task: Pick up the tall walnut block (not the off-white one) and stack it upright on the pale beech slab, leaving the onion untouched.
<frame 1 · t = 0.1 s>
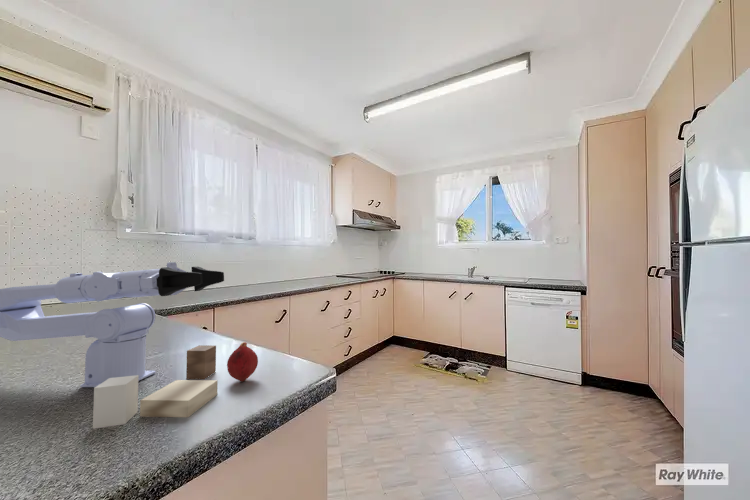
hand: (213, 277, 62), 22 cm above the table, tool horizontal, fingers open, 7 cm apart
beech slab: (181, 406, 51), on the table
offwhite block: (116, 419, 46), on the table
onion: (242, 382, 60), on the table
walnut block: (201, 375, 64), on the table
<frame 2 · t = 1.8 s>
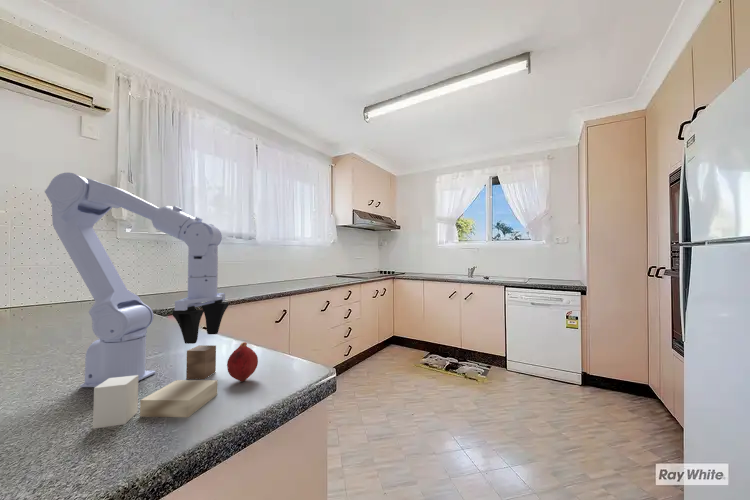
hand: (202, 338, 64), 8 cm above the table, tool pointing down, fingers open, 7 cm apart
nothing on the table moved.
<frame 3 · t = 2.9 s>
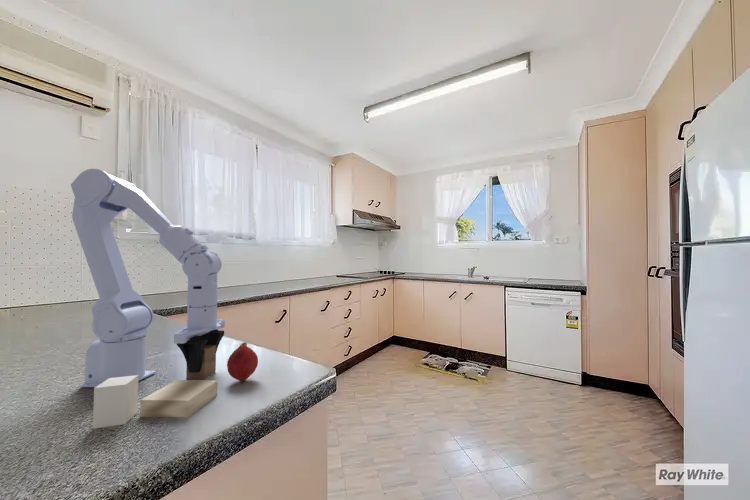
hand: (201, 367, 64), 2 cm above the table, tool pointing down, fingers closed on walnut block, 4 cm apart
walnut block: (201, 375, 64), on the table, touching gripper
everything else where it was.
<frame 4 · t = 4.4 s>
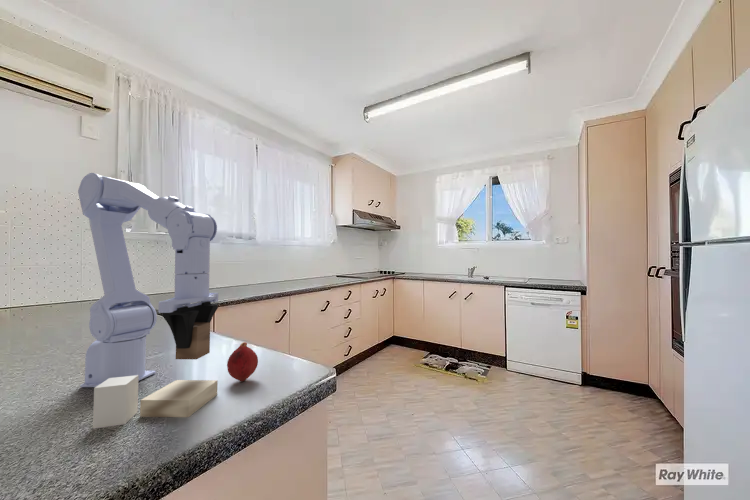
hand: (191, 344, 56), 9 cm above the table, tool pointing down, fingers closed on walnut block, 4 cm apart
walnut block: (193, 355, 56), point 7 cm above the table, touching gripper
everything else where it was.
when the fingers open (6 cm above the table, at t = 5.8 s): walnut block stays where it is, resting on beech slab.
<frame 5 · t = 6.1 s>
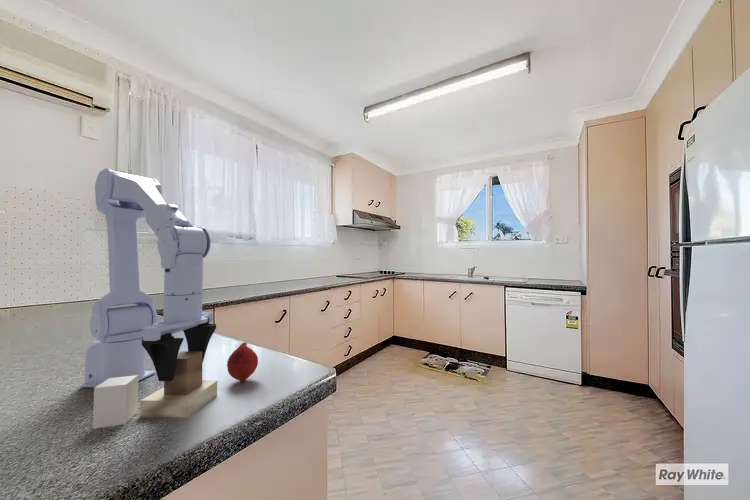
hand: (182, 371, 51), 6 cm above the table, tool pointing down, fingers open, 7 cm apart
beech slab: (181, 407, 51), on the table, touching walnut block
walnut block: (183, 389, 51), point 3 cm above the table, touching beech slab
everything else where it was.
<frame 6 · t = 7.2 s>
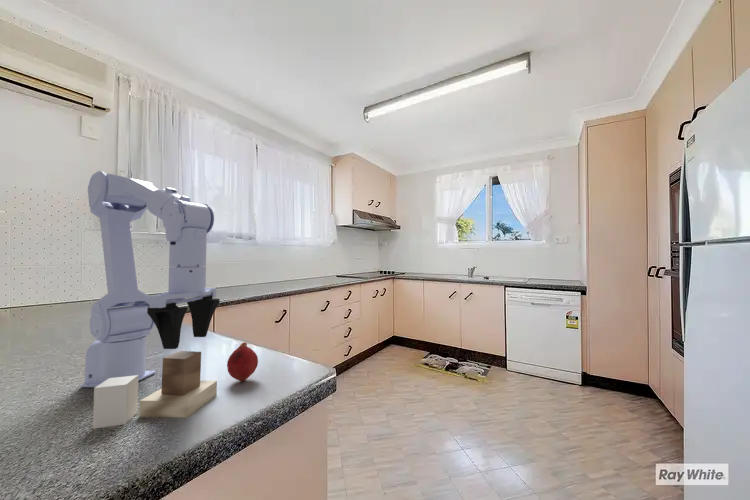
hand: (186, 342, 53), 10 cm above the table, tool pointing down, fingers open, 7 cm apart
beech slab: (180, 407, 51), on the table
walnut block: (181, 389, 51), point 3 cm above the table
everything else where it was.
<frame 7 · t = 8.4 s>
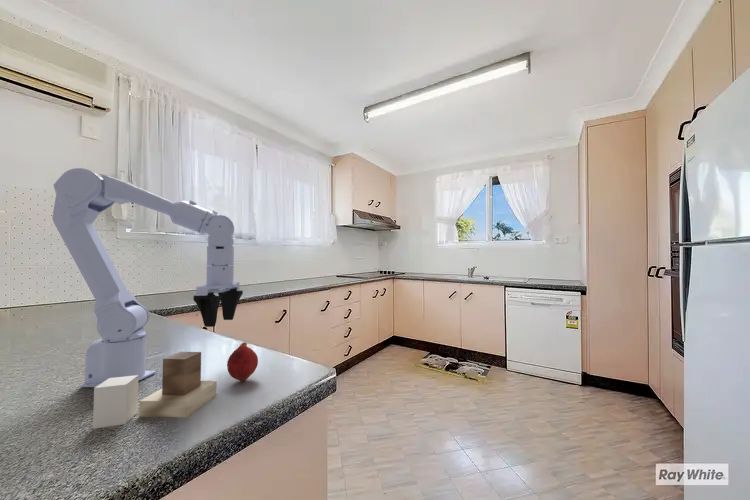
hand: (219, 322, 69), 10 cm above the table, tool pointing down, fingers open, 7 cm apart
beech slab: (180, 407, 51), on the table, touching walnut block
walnut block: (182, 390, 51), point 2 cm above the table, touching beech slab
everything else where it was.
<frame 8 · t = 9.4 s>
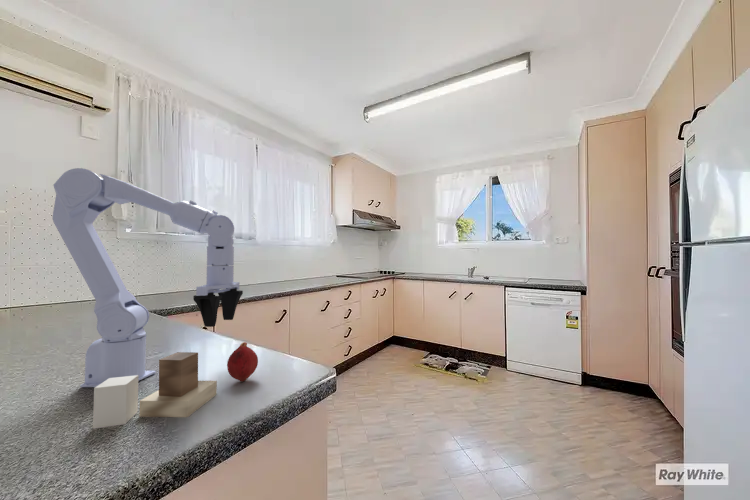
hand: (219, 322, 69), 10 cm above the table, tool pointing down, fingers open, 7 cm apart
nothing on the table moved.
at the end: walnut block 0.4 cm off-centre on the beech slab, point 3.0 cm above the beech slab's base; walnut block tilted 1°; offwhite block moved 0.1 cm from its start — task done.
